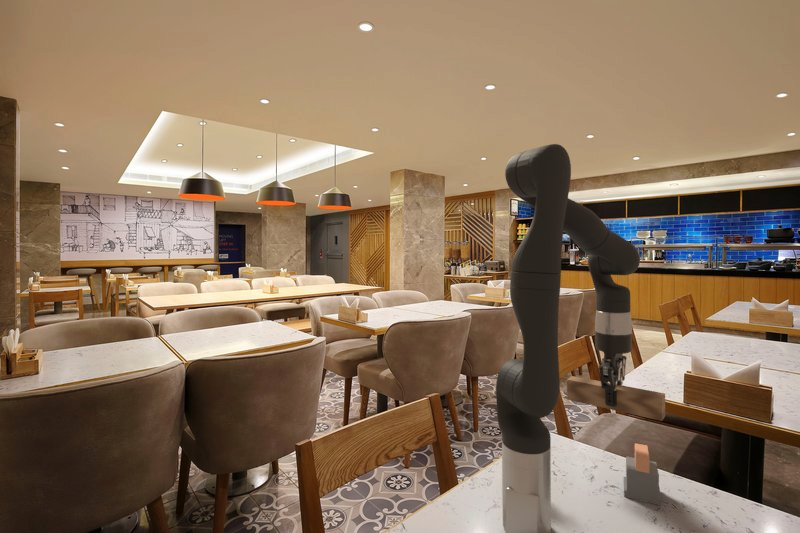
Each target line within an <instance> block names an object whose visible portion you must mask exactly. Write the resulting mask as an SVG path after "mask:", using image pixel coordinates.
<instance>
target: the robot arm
mask: <svg viewBox="0 0 800 533" xmlns="http://www.w3.org/2000/svg"><path fill="white" fill-rule="evenodd" d="M504 170H505V171H504V172H505V173H504V176H505V181H506V184H507V186H508V187H509V189H510V190H511V192H513V194H514V195H516V196H517V197H518V198H519V199H521V200H523V202H525V203H526V204H528V205H529V206H531V207H532V208H534V214H533V217H532V221H531V224H530V227H529V228H528V230H527V232H526V234H525V236H524V237H523V239H522V240H521V243H520V244H519V246H518V247H517V250H516V251H515V253H514V256H513V257H512V260H511V266H510V280H509V281H510V284H509V296H510V301H511V305H512V309H513V312H514V314H515V318H516V320H517V323H518V326H519V329H520V331H521V332H520V333H521V335H522V342H523V344H522V345H523V356H522V357H523V359H519V358H514V359H510V360H508V361H506V362H505V363H503V365H502V366H501V367H500V369H499V371H498V374H497V376H496V377H497V378H496V383H495V396H496V398H495V399H496V416H497V424H498V425H497V426H498V427H499V431H500V433H502V435H501V463H502V464H501V480H502V482H501V483H502V487H501V488H502V489H501V491H502V494H501V495H502V503H501V504H502V526H503V529H504V530H505V533H552V504H551V503H552V499H551V498H552V496H551V495H552V487H551V484H552V482H551V481H552V480H551V478H552V477H551V476H552V474H551V470H552V469H551V466H552V465H551V464H552V463H551V460H552V459H551V457H552V456H551V453H552V452H551V450H552V448H551V447H552V445H551V440H552V438H551V437H552V436H551V433H550V432H551V431H549V429H548V427H547V426H546V424H544V422H543V420H542V419H541V418H546V417H547V416H549V415H550V414H551V413H553V411H554V409H555V408H556V406H557V403H558V401H559V395H560V387H561V386H560V385H561V384H560V364H559V363H560V362H559V340H558V339H559V309H560V308H559V306H560V305H559V304H560V295H561V280H562V279H561V278H562V251H563V238H564V237H563V236H564V233H565V234H566V235H568V237H569V238H570V239H571V240H572V241H573V242H574V243H575V244H576V245H577V246H578V248H579V249H580V250H581V251H582V252H584V253H585V254H587V255H588V258H587V267H588V270H589V273H590V276H591V279H592V282H593V286H594V290H595V294H596V296H595V300H596V302H595V303H596V304H595V306H596V311H595V312H596V313H595V318H594V319H595V320H594V321H595V322H594V324H595V325H594V326H595V327H594V328H595V329H594V331H595V332H594V334H595V337H594V342H595V343H594V345H595V349H596V350H597V351H599V352H602V353H603V354H604V355H603V358H601V359H602V360H601V365H599V367H598V372H599V376H600V378H599V379H600V381H601V387H602V388H603V389H605V404H606V405H608V406H612V407H615V406H616V405H617V385H623V384H624V381H625V379H626V377H625V376H626V366H627V365H626V364H627V356H626V355H624V354H630V353H632V350H633V341H632V340H633V329H632V328H633V322H632V315H631V290H630V289H629V287H627V286H624V285H621V284H618V283H616V282H615V281H614V280H613V277H612V276H629V275H632V274H633V273H635V272H636V271H637V270H638V269H639V267H640V263H641V258H640V254H639V252H638V250H637V248H636V247H635V245H633V244H632V243H631V242H630V241H629V240H627V239H625V238H624V237H622V236H621V235H619V234H617V233H615V232H613V231H611V230H610V229H609V227H608V226H607V225H606V223H604V221H602V219H601V217H599V216H598V214H596V213H595V212H594V211H593V210H592V209H590V208H588V207H586V206H584V205H582V204H581V203H579V202H577V201H575V200H572V199H570V198H569V193H570V186H571V179H572V176H571V175H572V165H571V159H570V155H569V152H568V151H567V149H565V147H563V145H560V144H559V143H558V144H557V143H551V144H547V145H543V146H542V145H541V146H539V147H535V148H532V149H528V150H527V149H526V150H524V151H521V152H519V153H517V154H514V155H513V156H511V158H510V159H509V160H508V161H507V163H506V166H505V169H504ZM608 383H610V384H608Z"/></svg>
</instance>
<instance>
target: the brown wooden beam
mask: <svg viewBox="0 0 800 533" xmlns="http://www.w3.org/2000/svg"><path fill="white" fill-rule="evenodd" d="M608 384H610V382H608ZM566 400H568V401H573V402H578V403H582V404H586V405H590V406H595V407H599V408H603V409H608V410H612V411H616V412H621V413H625V414H630V415H634V416H639V417H642V418H643V417H644V418H647V419H652V420H656V421H660V422H662V421H664V419H665V417H666V393H665V392H658V391H654V390H649V389H644V388H638V387H632V386H627V385H623V384H622V385H617V405H616V406H615V407H612V406H608V405H606V404H605V389H603V388H602V387H601V380H595V379H591V378H584V377H578V376H575V375H574V376H573V375H571V376H569V378H567V379H566Z"/></svg>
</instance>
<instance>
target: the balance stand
mask: <svg viewBox="0 0 800 533" xmlns="http://www.w3.org/2000/svg"><path fill="white" fill-rule="evenodd" d="M623 497H624V498H628V499H632V500H637V501H641V502H645V503H649V504H652V505H653V504H654V505H658V506H662V505H663V504H662V501H663V500H662V495H661V490H660V474H659V470H658V465H657V461H651V460H650V454H649V448H648V445H647V444H642V443H641V444H640V443H636V442H635V443H634V457H631V456H625V476H623Z"/></svg>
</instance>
